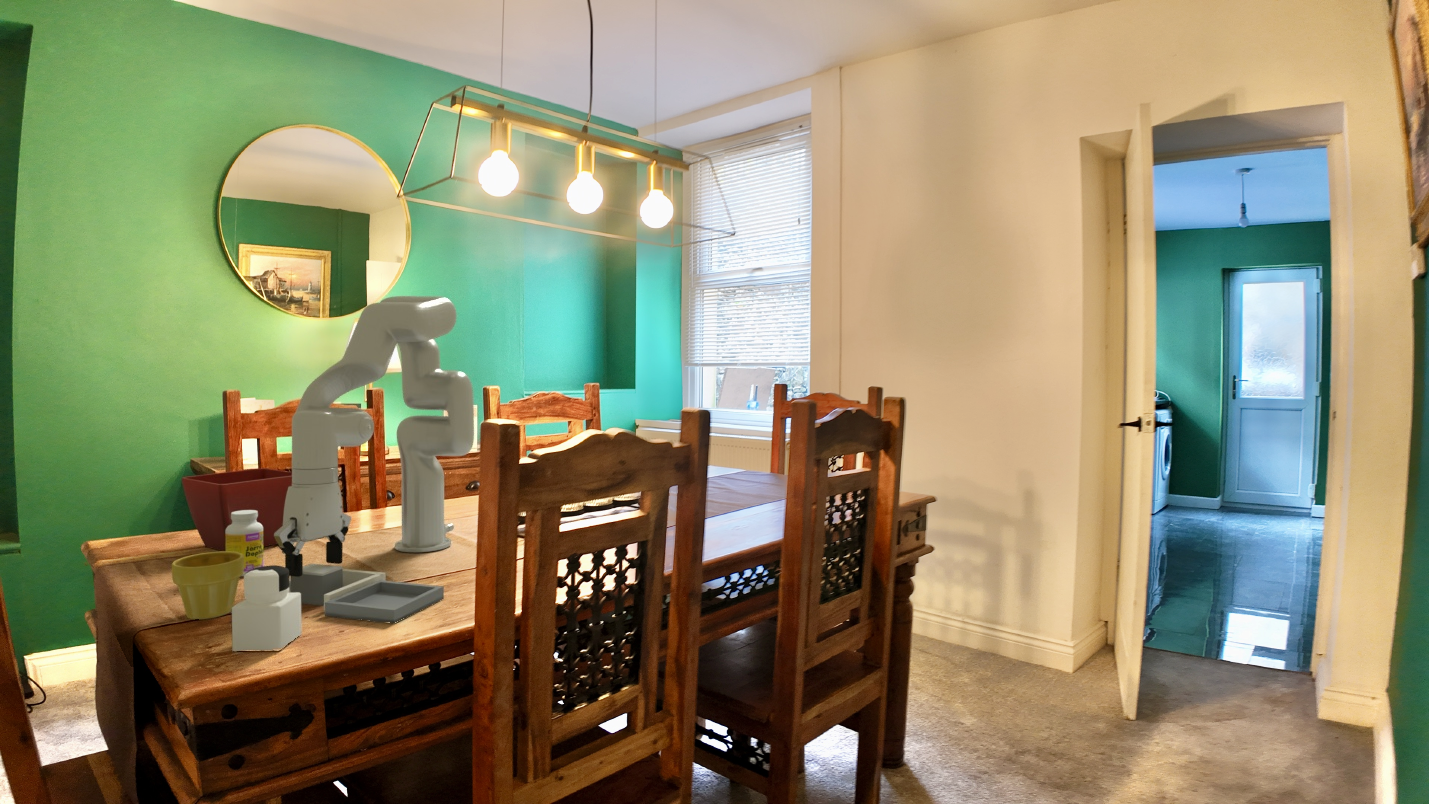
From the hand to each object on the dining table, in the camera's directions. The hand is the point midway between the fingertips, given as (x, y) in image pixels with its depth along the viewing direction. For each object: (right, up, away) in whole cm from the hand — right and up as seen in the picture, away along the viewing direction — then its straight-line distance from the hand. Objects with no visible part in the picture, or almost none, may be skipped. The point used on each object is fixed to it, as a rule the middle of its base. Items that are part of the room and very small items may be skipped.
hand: (314, 569), depth 137 cm
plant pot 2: (-14, -6, -7) cm, 17 cm away
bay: (0, -6, +3) cm, 6 cm away
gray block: (0, -6, +1) cm, 6 cm away
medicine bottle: (+4, -7, -21) cm, 22 cm away
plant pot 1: (-39, -4, +40) cm, 56 cm away
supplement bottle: (-24, -5, +17) cm, 30 cm away
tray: (+15, -6, -3) cm, 16 cm away
